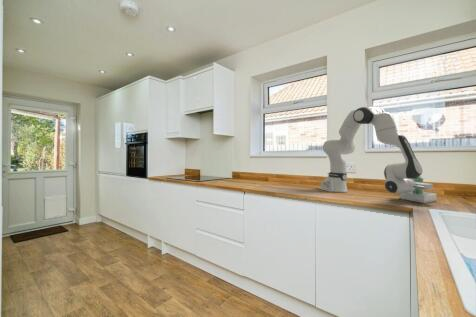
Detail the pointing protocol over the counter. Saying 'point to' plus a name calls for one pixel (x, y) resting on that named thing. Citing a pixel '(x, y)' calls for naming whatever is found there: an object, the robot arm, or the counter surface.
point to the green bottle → (418, 189)
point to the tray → (418, 197)
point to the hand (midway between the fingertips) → (418, 184)
